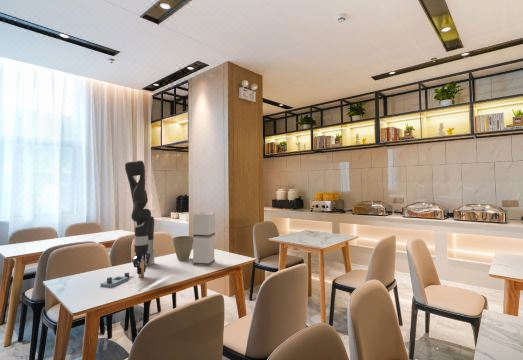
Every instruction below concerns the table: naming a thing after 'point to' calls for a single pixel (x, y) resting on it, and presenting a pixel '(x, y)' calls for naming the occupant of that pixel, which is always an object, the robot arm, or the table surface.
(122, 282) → the lower chain link
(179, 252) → the plant pot
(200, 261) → the tall lidded box
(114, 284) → the upper chain link
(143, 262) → the copper pin
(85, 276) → the table surface
